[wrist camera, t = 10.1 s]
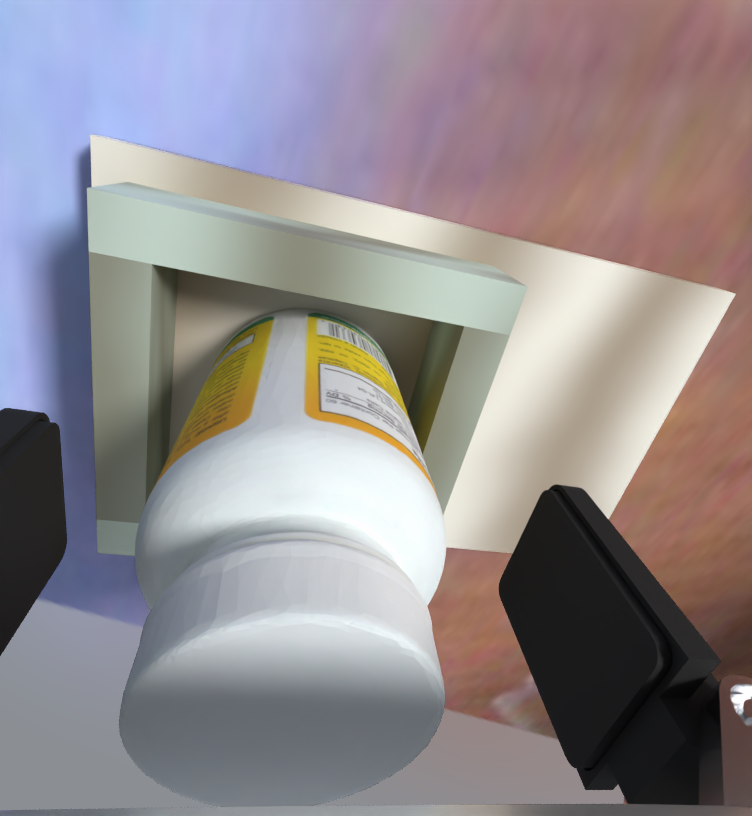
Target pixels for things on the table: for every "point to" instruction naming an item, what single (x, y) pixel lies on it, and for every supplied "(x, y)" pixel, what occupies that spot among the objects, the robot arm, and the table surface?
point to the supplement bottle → (288, 577)
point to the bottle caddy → (378, 334)
